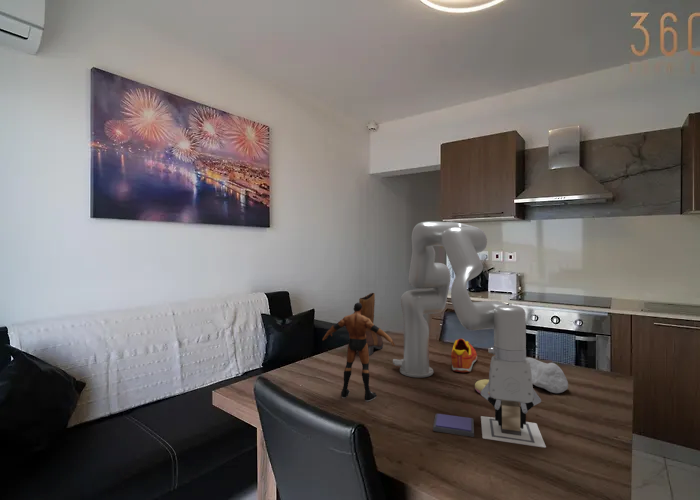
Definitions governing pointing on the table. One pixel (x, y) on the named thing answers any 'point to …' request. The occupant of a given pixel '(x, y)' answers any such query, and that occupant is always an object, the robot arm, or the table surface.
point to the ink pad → (454, 425)
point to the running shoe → (463, 356)
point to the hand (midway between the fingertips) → (510, 423)
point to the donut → (481, 385)
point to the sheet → (528, 434)
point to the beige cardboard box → (510, 417)
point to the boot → (368, 311)
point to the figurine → (357, 346)
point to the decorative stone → (548, 376)
